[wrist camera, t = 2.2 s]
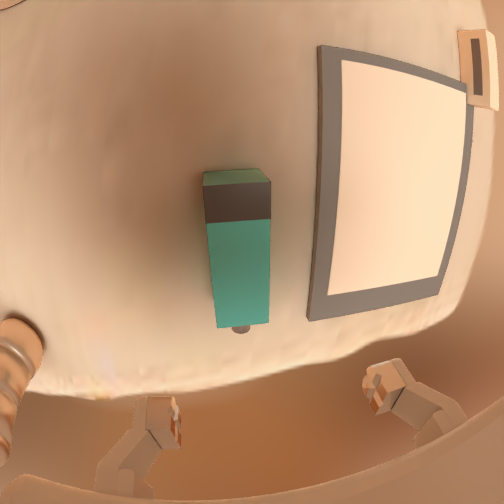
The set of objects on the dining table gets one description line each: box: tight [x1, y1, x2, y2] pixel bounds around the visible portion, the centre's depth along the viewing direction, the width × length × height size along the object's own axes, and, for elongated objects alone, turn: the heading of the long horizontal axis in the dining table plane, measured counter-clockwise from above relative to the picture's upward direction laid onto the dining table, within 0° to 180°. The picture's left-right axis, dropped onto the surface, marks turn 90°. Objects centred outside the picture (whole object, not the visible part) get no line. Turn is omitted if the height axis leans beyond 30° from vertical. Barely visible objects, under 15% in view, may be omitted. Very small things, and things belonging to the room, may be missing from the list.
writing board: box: [307, 45, 474, 322], centre depth 23 cm, size 24×17×1 cm
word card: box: [457, 29, 499, 111], centre depth 16 cm, size 8×2×4 cm, turn 2°
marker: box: [203, 169, 271, 334], centre depth 22 cm, size 13×4×4 cm, turn 1°
